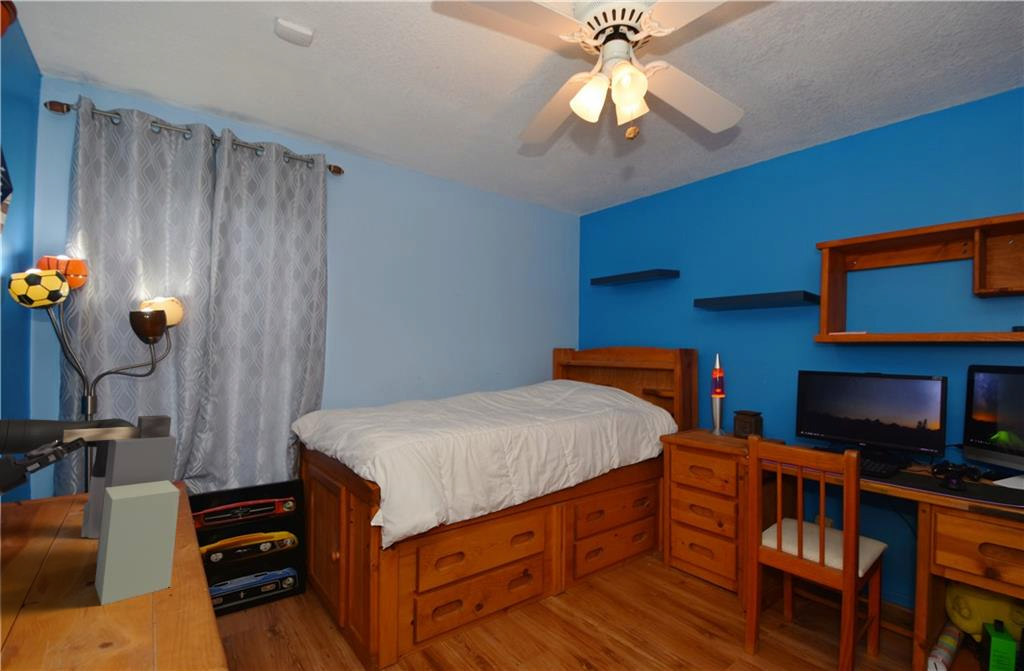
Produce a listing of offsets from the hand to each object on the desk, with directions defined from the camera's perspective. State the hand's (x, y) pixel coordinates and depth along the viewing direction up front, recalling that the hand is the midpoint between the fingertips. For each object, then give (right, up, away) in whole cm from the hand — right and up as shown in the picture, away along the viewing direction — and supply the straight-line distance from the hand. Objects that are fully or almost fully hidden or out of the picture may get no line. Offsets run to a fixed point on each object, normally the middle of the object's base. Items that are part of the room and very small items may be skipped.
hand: (83, 437), depth 111 cm
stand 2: (+16, -33, -5) cm, 37 cm away
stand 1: (+6, -33, +6) cm, 35 cm away
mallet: (+4, -1, +5) cm, 7 cm away
